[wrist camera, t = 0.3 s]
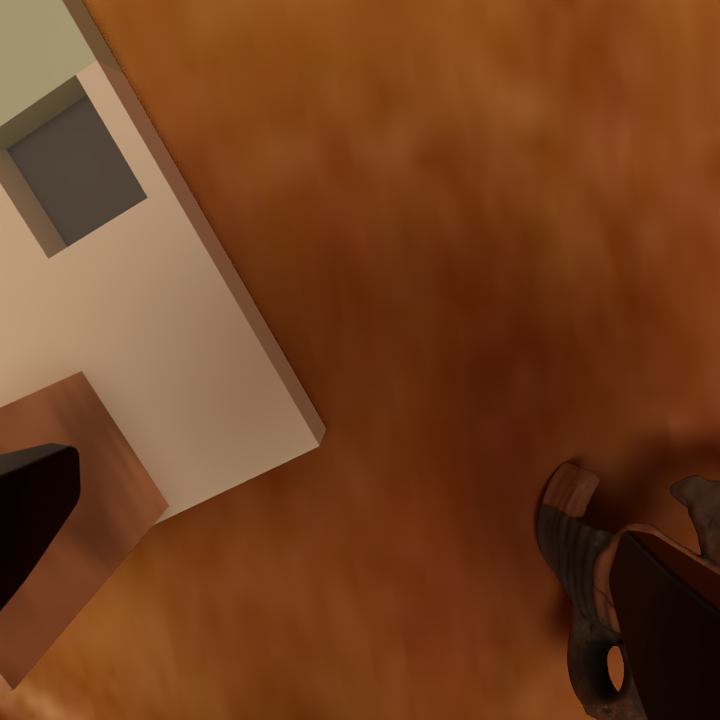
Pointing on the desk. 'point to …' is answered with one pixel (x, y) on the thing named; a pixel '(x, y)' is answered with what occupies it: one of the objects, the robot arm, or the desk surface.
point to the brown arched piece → (591, 578)
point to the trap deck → (139, 301)
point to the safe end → (43, 61)
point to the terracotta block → (73, 517)
